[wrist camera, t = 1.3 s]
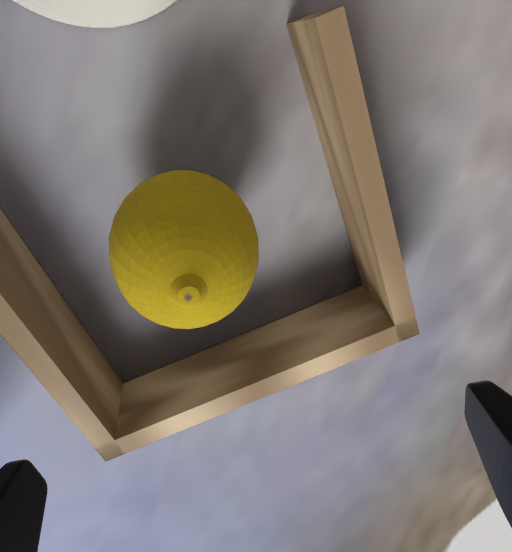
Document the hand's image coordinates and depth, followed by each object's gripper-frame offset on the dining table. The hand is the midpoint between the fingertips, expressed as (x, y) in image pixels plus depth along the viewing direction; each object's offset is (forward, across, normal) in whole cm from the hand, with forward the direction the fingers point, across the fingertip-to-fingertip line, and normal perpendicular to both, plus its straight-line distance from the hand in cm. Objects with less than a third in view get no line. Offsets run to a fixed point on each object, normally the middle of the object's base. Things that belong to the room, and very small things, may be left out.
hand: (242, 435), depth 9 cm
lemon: (+13, +3, 0) cm, 14 cm away
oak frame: (+13, +3, +2) cm, 13 cm away
